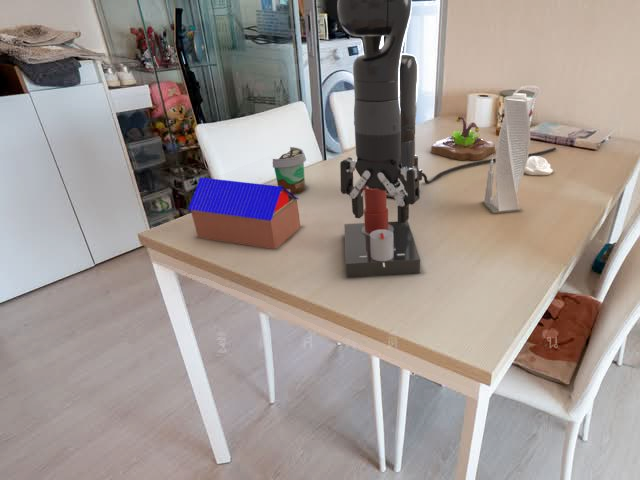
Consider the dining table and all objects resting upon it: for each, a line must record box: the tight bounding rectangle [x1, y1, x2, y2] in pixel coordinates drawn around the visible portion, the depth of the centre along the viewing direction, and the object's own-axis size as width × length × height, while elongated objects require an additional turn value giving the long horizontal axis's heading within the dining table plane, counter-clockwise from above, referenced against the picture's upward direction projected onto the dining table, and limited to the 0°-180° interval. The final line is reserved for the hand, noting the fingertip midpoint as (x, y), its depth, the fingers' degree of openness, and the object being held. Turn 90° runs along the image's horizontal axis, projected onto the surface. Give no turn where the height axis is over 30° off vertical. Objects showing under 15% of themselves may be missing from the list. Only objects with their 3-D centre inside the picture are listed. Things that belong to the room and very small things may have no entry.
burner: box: [362, 224, 394, 236], centre depth 97 cm, size 7×7×1 cm
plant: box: [430, 116, 496, 162], centre depth 154 cm, size 20×20×11 cm
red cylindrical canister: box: [363, 186, 389, 233], centre depth 94 cm, size 5×5×10 cm
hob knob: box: [370, 229, 394, 261], centre depth 86 cm, size 4×4×5 cm
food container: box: [272, 146, 307, 196], centre depth 123 cm, size 12×6×10 cm, turn 168°
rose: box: [524, 155, 554, 176], centre depth 138 cm, size 10×4×10 cm
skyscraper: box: [482, 84, 540, 215], centre depth 107 cm, size 8×8×28 cm
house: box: [187, 177, 302, 250], centre depth 100 cm, size 12×20×12 cm, turn 73°
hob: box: [343, 220, 421, 279], centre depth 93 cm, size 20×14×3 cm
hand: (380, 220), depth 83 cm, fingers open, 8 cm apart
